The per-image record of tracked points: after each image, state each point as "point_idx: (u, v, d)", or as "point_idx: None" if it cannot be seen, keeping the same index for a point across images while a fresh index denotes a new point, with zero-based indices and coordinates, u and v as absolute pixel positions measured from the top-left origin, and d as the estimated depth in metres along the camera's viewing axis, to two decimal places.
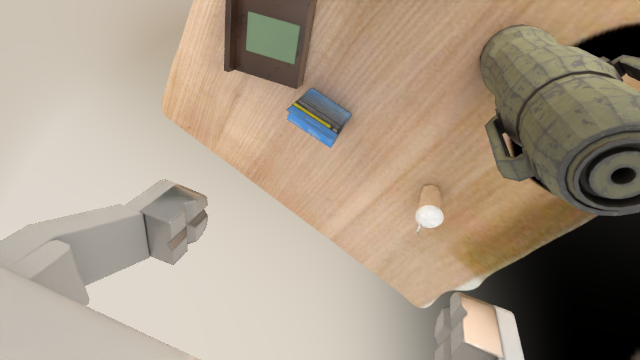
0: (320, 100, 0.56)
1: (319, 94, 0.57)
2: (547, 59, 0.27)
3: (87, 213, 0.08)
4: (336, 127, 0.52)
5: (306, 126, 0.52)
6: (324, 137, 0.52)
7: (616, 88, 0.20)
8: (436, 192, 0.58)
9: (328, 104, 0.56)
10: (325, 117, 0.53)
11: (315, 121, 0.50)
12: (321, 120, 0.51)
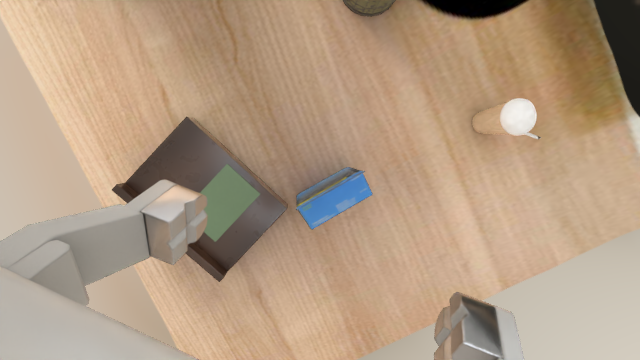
0: (314, 187, 0.44)
1: (307, 189, 0.46)
2: None
3: (87, 213, 0.08)
4: (351, 173, 0.40)
5: (331, 207, 0.39)
6: (356, 191, 0.39)
7: None
8: (486, 110, 0.45)
9: (323, 181, 0.45)
10: (333, 182, 0.40)
11: (330, 188, 0.37)
12: (333, 184, 0.39)
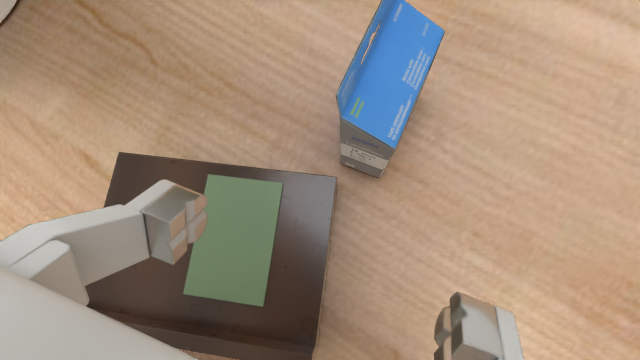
0: None
1: None
2: None
3: (87, 213, 0.08)
4: None
5: (397, 86, 0.19)
6: (415, 36, 0.20)
7: None
8: None
9: None
10: None
11: None
12: None
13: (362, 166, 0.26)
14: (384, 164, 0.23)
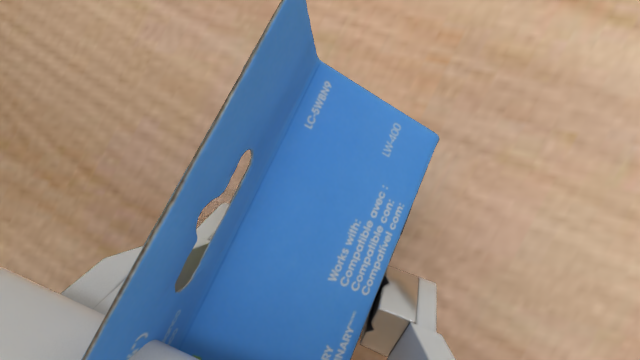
0: None
1: None
2: None
3: None
4: None
5: (314, 301, 0.07)
6: (366, 160, 0.08)
7: None
8: None
9: None
10: None
11: None
12: None
13: None
14: None
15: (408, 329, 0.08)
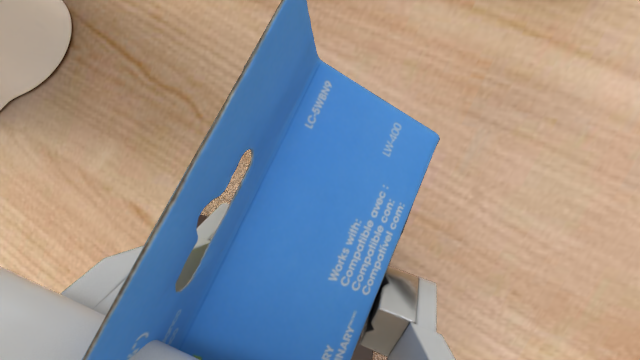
0: None
1: None
2: None
3: None
4: None
5: (314, 300, 0.07)
6: (366, 160, 0.08)
7: None
8: None
9: None
10: None
11: None
12: None
13: None
14: None
15: (408, 329, 0.08)
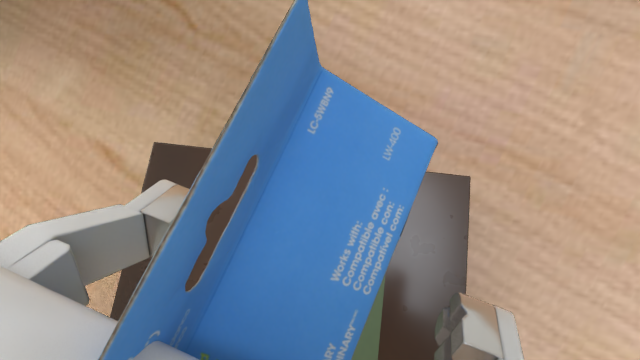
0: None
1: None
2: None
3: (87, 213, 0.08)
4: None
5: (317, 300, 0.08)
6: (367, 163, 0.08)
7: None
8: None
9: None
10: None
11: None
12: None
13: None
14: None
15: None
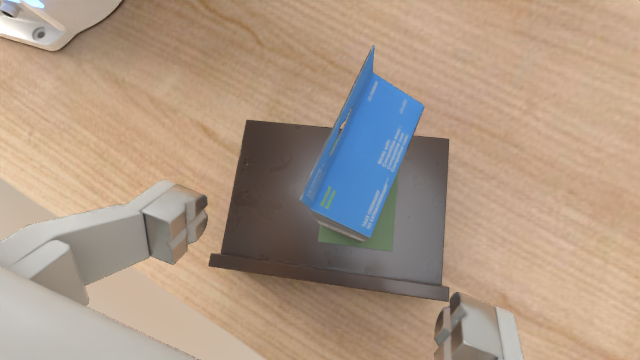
0: None
1: None
2: None
3: (87, 213, 0.08)
4: None
5: (372, 171, 0.18)
6: (392, 114, 0.19)
7: None
8: None
9: None
10: None
11: None
12: None
13: (342, 234, 0.24)
14: (363, 240, 0.21)
15: None
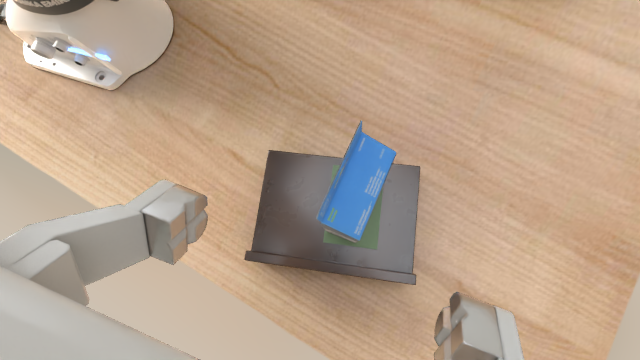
0: None
1: None
2: None
3: (87, 213, 0.08)
4: None
5: (361, 197, 0.28)
6: (374, 159, 0.28)
7: None
8: None
9: None
10: None
11: (341, 173, 0.27)
12: None
13: None
14: (355, 241, 0.31)
15: None
